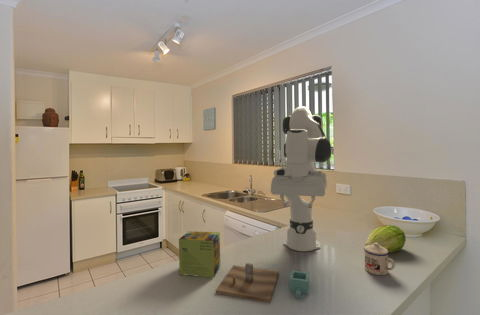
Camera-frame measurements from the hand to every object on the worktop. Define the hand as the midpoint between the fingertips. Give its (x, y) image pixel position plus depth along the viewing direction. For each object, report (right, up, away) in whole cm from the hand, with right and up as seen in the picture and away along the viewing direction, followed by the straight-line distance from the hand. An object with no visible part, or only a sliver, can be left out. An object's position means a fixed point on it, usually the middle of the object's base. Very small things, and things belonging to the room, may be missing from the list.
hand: (297, 207), depth 96 cm
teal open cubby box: (0, -30, -4) cm, 30 cm away
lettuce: (+50, -28, +29) cm, 64 cm away
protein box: (-39, -30, +12) cm, 51 cm away
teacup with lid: (+36, -29, +8) cm, 47 cm away
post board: (-18, -30, +2) cm, 35 cm away
